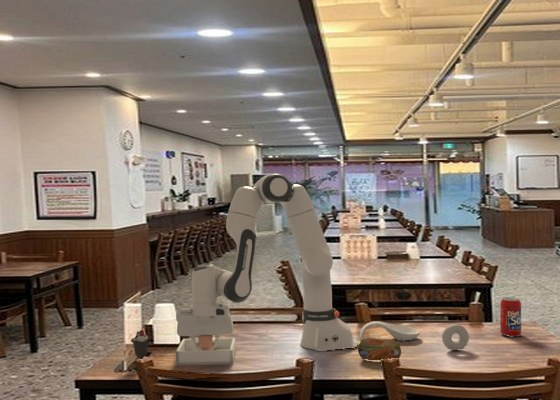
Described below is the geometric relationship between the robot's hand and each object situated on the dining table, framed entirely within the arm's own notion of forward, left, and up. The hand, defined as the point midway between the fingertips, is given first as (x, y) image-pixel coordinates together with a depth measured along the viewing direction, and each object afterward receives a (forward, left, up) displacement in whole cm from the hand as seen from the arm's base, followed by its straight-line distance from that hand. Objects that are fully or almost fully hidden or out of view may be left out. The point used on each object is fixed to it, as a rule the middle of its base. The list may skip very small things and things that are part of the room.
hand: (205, 346), depth 208 cm
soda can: (-120, -22, -5) cm, 122 cm away
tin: (-62, +6, -5) cm, 62 cm away
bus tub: (0, -3, -5) cm, 6 cm away
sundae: (+22, +6, -5) cm, 23 cm away
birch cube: (0, -7, -4) cm, 8 cm away
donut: (-92, -4, -5) cm, 92 cm away
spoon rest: (-71, -21, -6) cm, 74 cm away
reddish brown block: (0, 0, -3) cm, 3 cm away
